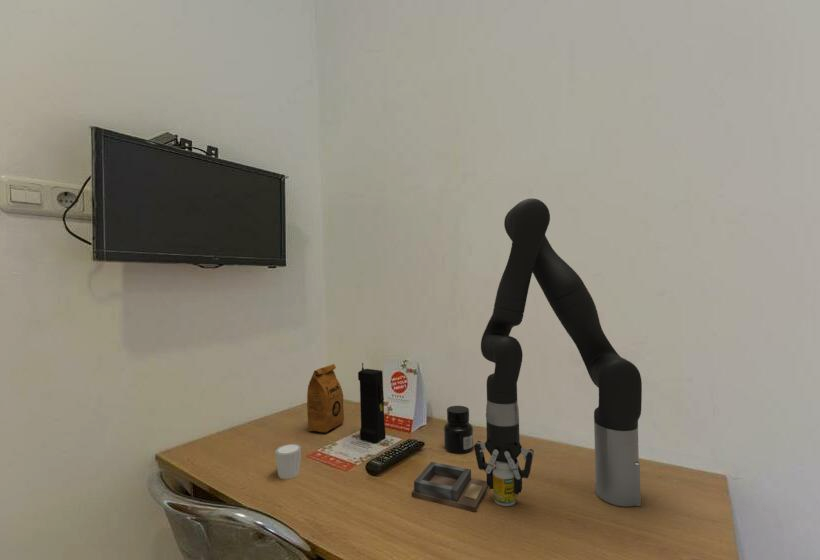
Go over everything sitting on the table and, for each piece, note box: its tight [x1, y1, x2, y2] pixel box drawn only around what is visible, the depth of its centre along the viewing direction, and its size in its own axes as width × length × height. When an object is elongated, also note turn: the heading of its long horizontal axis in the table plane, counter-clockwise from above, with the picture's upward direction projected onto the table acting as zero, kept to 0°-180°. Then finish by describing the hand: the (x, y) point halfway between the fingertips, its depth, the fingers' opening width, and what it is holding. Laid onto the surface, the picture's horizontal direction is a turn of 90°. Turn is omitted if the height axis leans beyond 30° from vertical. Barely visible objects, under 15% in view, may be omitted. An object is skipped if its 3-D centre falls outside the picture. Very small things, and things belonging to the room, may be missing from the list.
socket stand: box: [411, 461, 489, 512], centre depth 97 cm, size 16×12×4 cm
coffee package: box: [306, 363, 345, 433], centre depth 141 cm, size 10×12×22 cm
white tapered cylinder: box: [274, 443, 302, 480], centre depth 108 cm, size 7×7×7 cm
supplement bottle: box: [492, 461, 517, 507], centre depth 93 cm, size 5×5×10 cm
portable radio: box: [357, 362, 387, 444], centre depth 130 cm, size 8×6×25 cm
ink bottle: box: [443, 405, 474, 454], centre depth 122 cm, size 10×9×12 cm
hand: (504, 489), depth 93 cm, fingers closed on supplement bottle, 5 cm apart
